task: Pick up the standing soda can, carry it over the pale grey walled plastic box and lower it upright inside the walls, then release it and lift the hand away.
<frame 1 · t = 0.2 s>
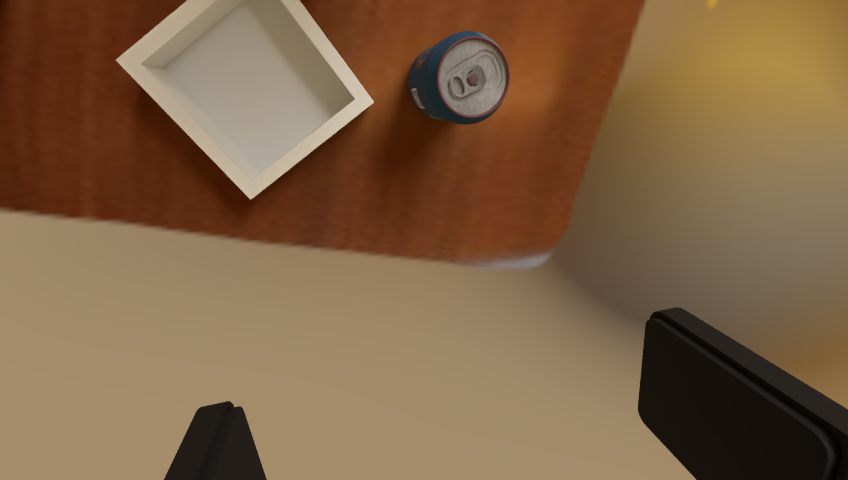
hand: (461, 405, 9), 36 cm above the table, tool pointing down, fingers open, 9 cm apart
soda can: (439, 84, 42), on the table
walled box: (264, 84, 39), on the table
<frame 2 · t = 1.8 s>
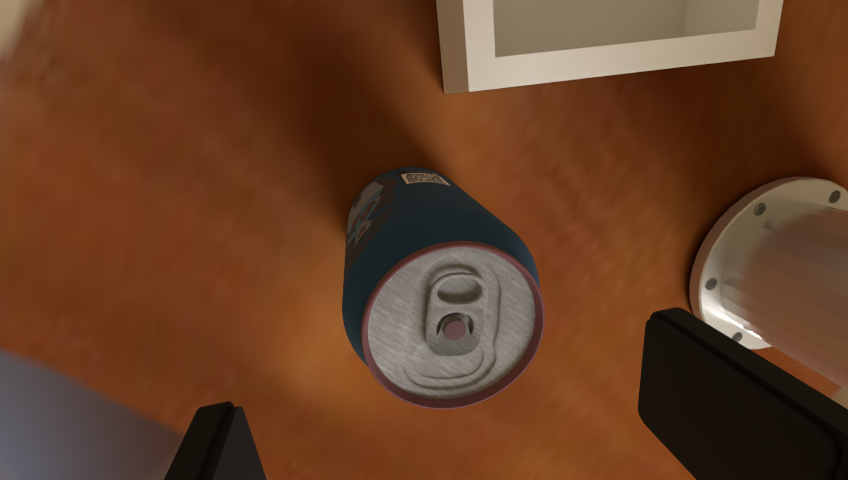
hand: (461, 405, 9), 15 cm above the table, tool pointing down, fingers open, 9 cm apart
soda can: (407, 222, 24), on the table
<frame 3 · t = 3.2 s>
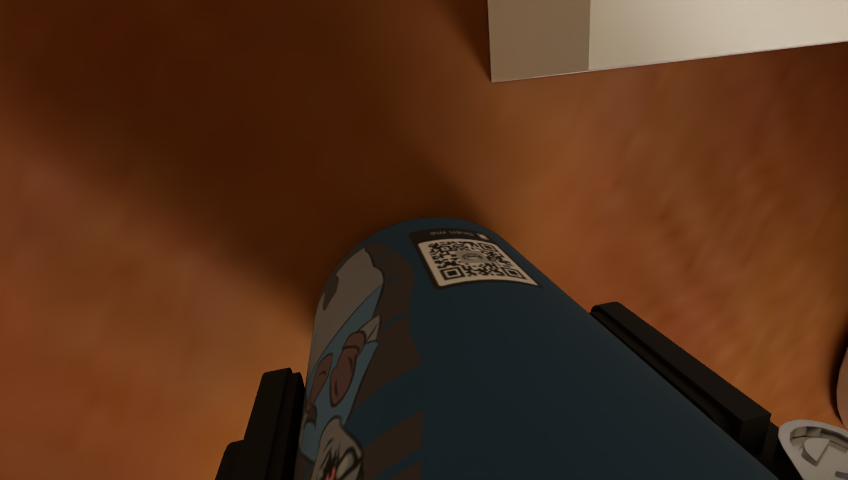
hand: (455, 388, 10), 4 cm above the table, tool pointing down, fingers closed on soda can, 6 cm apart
soda can: (421, 302, 14), on the table, touching gripper
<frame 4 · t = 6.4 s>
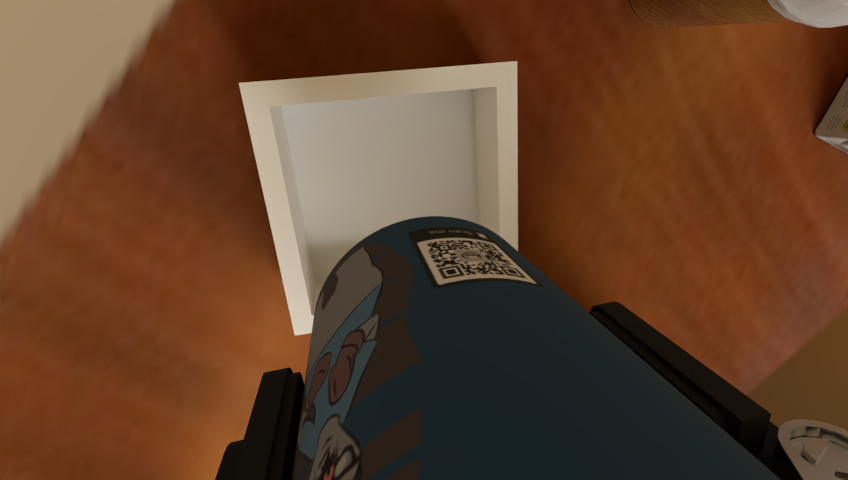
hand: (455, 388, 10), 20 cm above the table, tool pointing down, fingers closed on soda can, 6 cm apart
soda can: (420, 301, 14), point 15 cm above the table, touching gripper
walled box: (390, 189, 28), on the table
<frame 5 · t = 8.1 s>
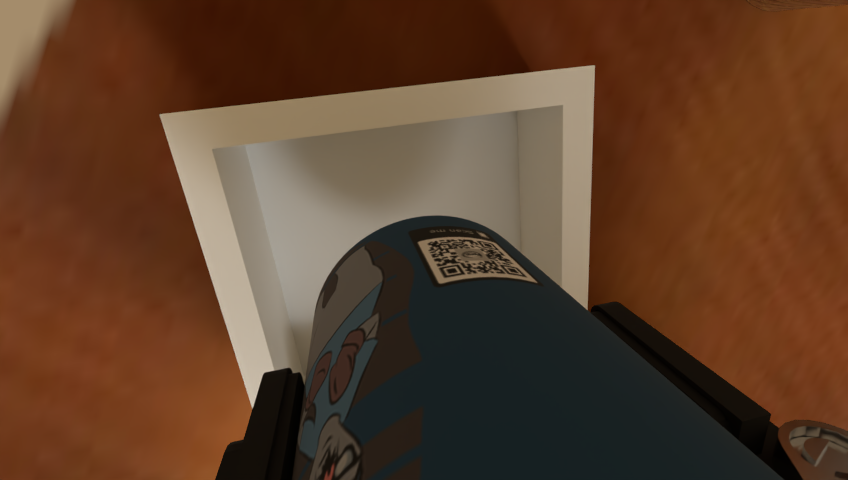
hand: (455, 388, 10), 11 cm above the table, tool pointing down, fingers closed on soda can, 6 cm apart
soda can: (420, 301, 14), point 7 cm above the table, touching gripper
walled box: (401, 243, 20), on the table
when the fingers open (7 cm above the table, at t = 9.5 s): soda can drops 1 cm, resting on walled box.
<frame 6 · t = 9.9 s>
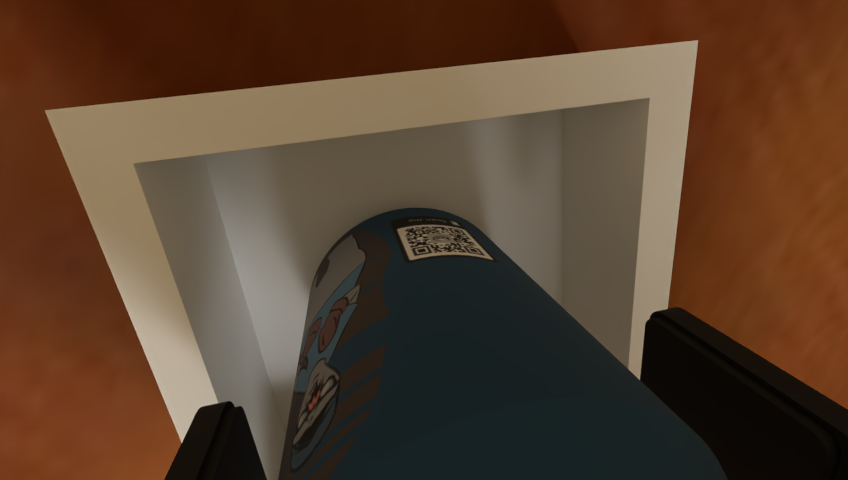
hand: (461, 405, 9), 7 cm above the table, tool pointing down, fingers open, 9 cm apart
soda can: (406, 286, 15), point 1 cm above the table, touching walled box
walled box: (411, 276, 16), on the table
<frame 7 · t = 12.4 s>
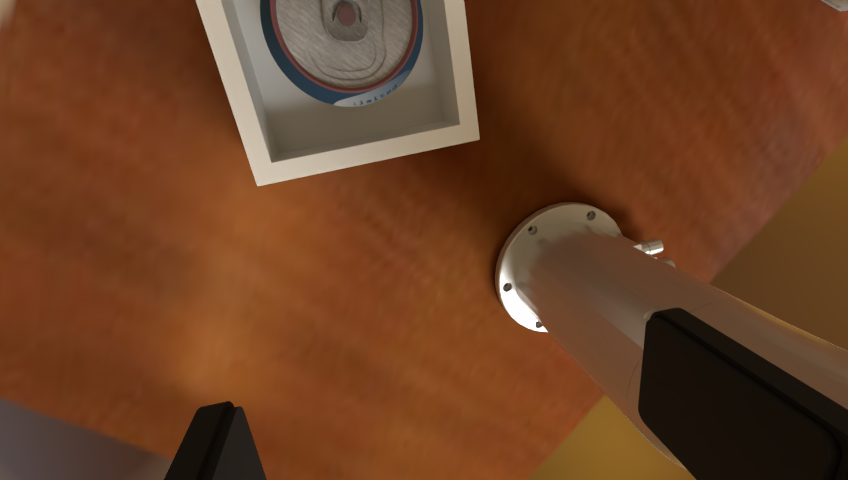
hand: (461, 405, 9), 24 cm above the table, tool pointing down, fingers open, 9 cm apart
soda can: (339, 48, 27), point 1 cm above the table, touching walled box
walled box: (343, 46, 27), on the table
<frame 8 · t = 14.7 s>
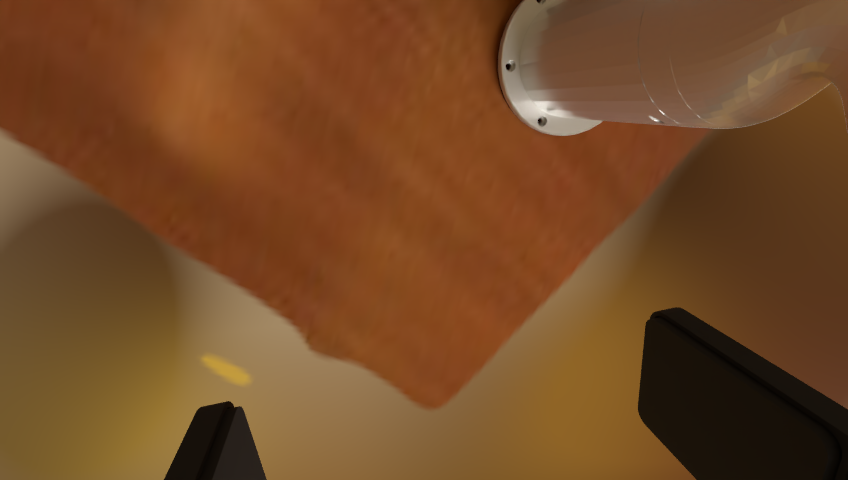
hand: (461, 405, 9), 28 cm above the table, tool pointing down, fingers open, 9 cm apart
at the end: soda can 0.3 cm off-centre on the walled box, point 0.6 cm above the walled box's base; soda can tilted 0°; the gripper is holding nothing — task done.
